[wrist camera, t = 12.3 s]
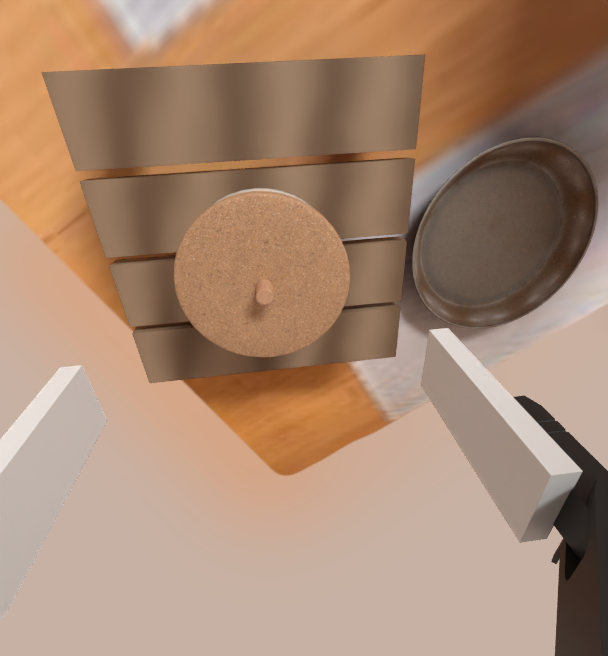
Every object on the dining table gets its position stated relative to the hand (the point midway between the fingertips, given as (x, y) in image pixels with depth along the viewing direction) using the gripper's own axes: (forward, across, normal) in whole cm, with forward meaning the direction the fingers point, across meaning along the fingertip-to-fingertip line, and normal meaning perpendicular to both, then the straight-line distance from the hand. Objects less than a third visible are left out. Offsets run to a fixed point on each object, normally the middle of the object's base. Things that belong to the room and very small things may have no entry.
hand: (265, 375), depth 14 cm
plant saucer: (+27, -26, +4) cm, 38 cm away
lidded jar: (+17, 0, 0) cm, 17 cm away
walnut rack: (+27, 0, 0) cm, 27 cm away
